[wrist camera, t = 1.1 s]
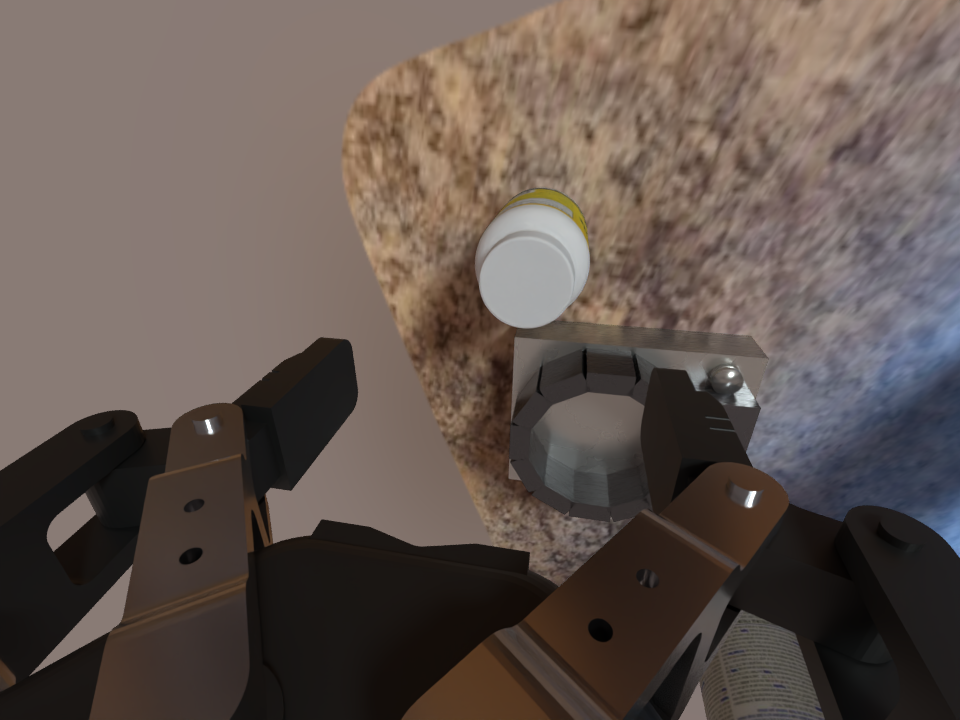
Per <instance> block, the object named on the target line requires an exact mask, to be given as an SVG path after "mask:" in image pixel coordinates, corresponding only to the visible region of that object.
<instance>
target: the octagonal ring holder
mask: <svg viewBox="0 0 960 720" xmlns="http://www.w3.org/2000/svg"><path fill="white" fill-rule="evenodd" d="M768 360H769V358H768V357H767V356H766V354H765V353H764V352H763V350H762V349H761V348H760V347H759V345H758V344H757V343H756V341H755V340H754V339H753V337H752V336H743V335H730V334H717V333H704V332H691V331H678V330H665V329H652V328H640V327H627V326H614V325H601V324H588V323H575V322H562V321H552V322H550V323H548V324H546V325H544V326H541V327H536V328H517V331H516V334H515V341H514V364H513V387H512V410H511V425H510V448H509V479H514V480H521V481H522V482H523V484H524V486H525V487H526V489H527V490H528V492H531V491H532V496H534V497H536V498H537V499H539V500H541V501H542V502H544V503H546V504H548V505H549V506H551V507H553V508H554V509H556V510H558V511H559V512H561V513H563V514H564V515H565V514H566V513H567V512H568V511H569V516H571V517H578V518H585V519H592V520H599V521H606V522H610V517H612V519H613V521H614V522H616V521H620V520H624V519H628V518H632V517H635V516H636V515H637V514H638V513H639V512H641V511H642V510H644V509H650V510H652V511H653V509H652V504H651V498H650V493H649V487H648V481H647V476H646V470H645V465H644V459H643V454H642V448H641V440H640V433H641V422H642V416H643V411H644V406H645V401H646V396H647V391H648V386H649V381H650V376H651V372H652V370H653V368H654V367H655V368H667V369H678V370H686V371H687V373H688V376H689V378H690V380H691V383H692V385H693V388H694V390H695V391H702V392H708V393H709V394H710V395H712V396H713V397H714V398H715V399H716V400H718V401H719V402H720V403H721V404H722V405H723V407H724V409H725V411H726V413H727V415H728V417H729V421H731V423H732V425H733V427H734V429H735V430H734V432H736V433H737V435H738V438H739V440H740V442H741V444H742V446H743V448H744V450H745V452H746V450H747V447H748V444H749V442H750V439H751V436H752V433H753V430H754V427H755V424H756V421H757V418H758V415H759V412H760V409H761V408H760V406H759V404H758V403H757V401H756V400H755V399H756V396H757V393H758V390H759V387H760V384H761V381H762V378H763V375H764V372H765V369H766V366H767V363H768Z"/></svg>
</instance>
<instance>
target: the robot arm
mask: <svg viewBox="0 0 960 720" xmlns="http://www.w3.org/2000/svg"><path fill="white" fill-rule="evenodd" d="M357 397H358V387H357V380H356V373H355V365H354V358H353V351H352V346H351V344H350V342H349V341H348V340H345V339H334V338H323V337H321V338H319V339H318V340H316V341H315V342H314V343H313V344H312V345H310V346H309V347H308V348H307V349H305V351H303V352H302V353H299V354H297V355H295V356H293V357H291V358H288V359H286V360H284V361H283V362H281V363H280V364H279V365H278V366H277V367H275V368H274V369H273V370H272V372H269V373H268V374H267V375H266V376H264V377H263V378H262V381H261V380H260V381H259V382H257V383H256V384H255V385H254V386H252V387H251V388H250V389H249V390H247V391H246V392H245V393H244V394H243V395H241V396H240V397H239V398H238V399H237V400H235V401H234V402H233V403H232V404H231V403H215V404H209V405H205V406H201V407H198V408H196V409H193V410H191V411H189V412H187V413H185V414H183V415H182V416H181V417H179V418H178V419H177V420H176V421H175V422H174V423H173V425H172V428H162V429H149V430H142V427H141V426H140V423H139V420H138V417H137V415H136V414H135V413H133V412H131V411H126V410H115V411H107V412H103V413H98V414H95V415H92V416H89V417H86V418H84V419H81V420H79V421H77V422H75V423H74V424H72V425H70V426H69V427H67V428H65V429H64V430H63V431H61V432H59V433H58V434H56V435H55V436H53V437H52V438H50V439H48V440H47V441H45V442H44V443H42V444H41V445H39V446H38V447H37V448H35V449H33V450H32V451H30V452H28V453H27V454H25V455H24V456H22V457H21V458H19V459H18V460H16V461H15V462H13V463H12V464H10V465H8V466H7V467H5V468H4V469H2V470H1V471H0V720H678V719H679V718H680V716H681V714H682V713H683V711H684V709H685V707H686V705H687V703H688V702H689V699H690V698H691V695H692V694H693V692H694V690H695V687H696V686H697V684H698V682H699V681H700V679H701V677H702V676H703V674H704V672H705V671H706V669H707V668H708V666H709V665H710V663H711V662H712V660H713V659H714V657H715V656H716V654H717V653H718V651H719V649H720V648H721V646H722V645H723V643H724V642H725V640H726V639H727V637H728V636H729V634H730V633H731V631H732V630H733V628H734V627H735V625H736V624H737V622H738V620H739V619H740V617H741V616H742V614H743V613H744V611H745V612H747V613H750V614H752V615H754V616H757V617H759V618H761V619H764V620H766V621H768V622H771V623H773V624H775V625H777V626H780V627H782V628H784V629H787V630H789V631H791V632H794V633H795V635H796V637H797V640H798V643H799V646H800V649H801V652H802V655H803V658H804V661H805V663H806V666H807V669H808V672H809V675H810V678H811V681H812V684H813V687H814V689H815V692H816V695H817V698H818V701H819V704H820V707H821V710H822V712H823V715H824V718H825V720H960V558H959V557H958V555H957V554H956V553H955V551H954V550H953V549H952V548H951V546H950V545H949V544H948V543H947V542H946V541H945V540H944V539H943V538H942V537H941V536H940V535H939V534H937V533H936V532H935V531H933V530H932V529H931V528H929V527H928V526H926V525H925V524H923V523H921V522H919V521H918V520H916V519H914V518H912V517H909V516H907V515H905V514H903V513H900V512H897V511H894V510H891V509H888V508H883V507H878V506H857V507H855V508H852V509H851V510H850V511H849V512H848V513H847V515H846V517H845V519H844V521H843V522H841V521H838V520H835V519H832V518H828V517H825V516H822V515H819V514H816V513H813V512H810V511H807V510H804V509H802V508H799V507H797V506H795V505H792V504H790V503H789V498H788V495H787V493H786V491H785V490H784V488H783V487H782V486H781V485H780V484H779V483H778V482H777V481H776V480H775V479H773V478H772V477H771V476H769V475H768V474H766V473H764V472H762V471H760V470H758V469H756V468H753V466H752V464H751V462H750V460H749V458H748V456H747V454H746V452H745V450H744V448H743V446H742V444H741V442H740V440H739V438H738V435H737V433H736V432H734V430H735V429H734V427H733V425H732V423H731V421H729V417H728V415H727V413H726V411H725V409H724V407H723V405H722V404H721V403H720V402H719V401H718V400H716V399H715V398H714V397H713V396H712V395H710V394H709V393H708V392H702V391H695V390H694V388H693V385H692V383H691V380H690V378H689V376H688V373H687V371H686V370H678V369H667V368H655V367H654V368H653V370H652V372H651V376H650V381H649V386H648V391H647V396H646V401H645V406H644V411H643V416H642V422H641V433H640V440H641V448H642V454H643V459H644V465H645V470H646V476H647V481H648V487H649V493H650V498H651V504H652V509H653V511H652V510H650V509H644V510H642V511H641V512H639V513H638V514H637V515H636V516H635V517H634V518H633V519H632V520H631V521H630V522H628V523H627V524H626V525H625V526H624V527H623V528H622V529H621V530H620V531H619V532H618V533H617V534H615V535H614V536H613V537H612V538H611V539H610V540H609V541H608V542H607V543H606V544H605V545H604V546H602V547H601V548H600V549H599V550H598V551H597V552H596V553H595V554H594V555H593V556H592V557H590V558H589V559H588V560H587V561H586V562H585V563H584V564H583V565H582V566H581V567H580V568H579V569H577V570H576V571H575V572H574V573H573V574H572V575H571V576H570V577H569V578H568V579H567V580H566V581H564V582H563V583H562V584H561V585H560V586H557V585H556V584H554V583H553V582H551V581H550V580H548V579H546V578H544V577H543V576H541V575H539V574H537V573H534V572H532V571H530V570H529V557H530V552H525V551H519V550H513V549H506V548H500V547H494V546H487V545H480V544H462V545H444V546H427V547H419V546H414V545H411V544H409V543H406V542H404V541H402V540H399V539H397V538H395V537H392V536H390V535H388V534H385V533H383V532H381V531H378V530H376V529H373V528H371V527H367V526H360V525H354V524H348V523H341V522H335V521H329V520H321V521H320V523H319V524H318V526H317V527H316V529H315V531H314V532H313V534H312V535H311V536H303V537H297V538H291V539H288V540H284V541H280V542H277V543H274V544H273V538H272V530H271V522H270V514H269V507H268V502H267V498H266V492H267V491H268V490H269V489H270V488H276V489H283V490H290V491H291V490H292V489H293V488H294V486H295V485H296V484H297V483H298V481H299V480H300V479H301V477H302V476H303V475H304V474H305V472H306V471H307V470H308V468H309V467H310V466H311V464H312V463H313V462H314V461H315V459H316V458H317V457H318V455H319V454H320V453H321V451H322V450H323V449H324V447H325V446H326V445H327V444H328V442H329V441H330V440H331V439H332V437H333V436H334V435H335V433H336V432H337V431H338V430H339V428H340V427H341V425H342V424H343V423H344V422H345V420H346V419H347V418H348V416H349V415H350V414H351V413H352V411H353V410H354V408H355V405H356V402H357ZM84 493H86V495H87V497H88V499H89V501H90V503H91V505H92V507H93V509H94V511H95V512H96V515H95V516H94V517H93V518H91V519H90V520H89V521H88V522H87V523H86V524H85V525H83V526H82V527H81V528H80V529H79V530H78V531H77V532H76V533H74V535H72V536H71V537H70V538H69V539H68V540H66V541H65V542H64V543H63V544H62V545H61V546H60V547H59V548H58V549H56V550H55V551H54V552H53V551H52V549H51V547H50V546H49V544H48V542H47V531H48V528H49V525H50V523H51V522H52V520H53V519H54V518H55V517H56V516H57V515H58V514H59V513H60V512H61V511H63V510H64V509H65V508H66V507H68V506H69V505H70V504H71V503H73V502H74V501H75V500H76V499H77V498H79V497H80V496H81V495H82V494H84ZM132 564H133V566H132V572H131V577H130V582H129V587H128V593H127V598H126V604H125V609H124V614H123V618H122V620H121V622H120V624H119V625H117V626H116V627H114V628H113V629H112V631H110V632H108V633H106V634H105V635H103V636H101V637H99V638H97V639H96V640H94V641H92V642H90V643H88V644H87V645H85V646H83V647H81V648H79V649H78V650H76V651H74V652H72V653H70V654H69V655H67V656H65V657H63V658H61V659H59V660H58V661H56V662H54V663H52V664H50V665H49V666H47V667H45V668H43V669H41V670H40V671H38V672H36V673H34V674H32V675H31V676H29V675H30V674H31V673H32V672H33V671H34V670H35V669H36V668H37V667H38V666H39V665H40V664H41V663H42V661H43V660H44V659H45V658H46V657H47V656H48V655H49V654H50V653H51V652H52V650H54V648H55V647H56V646H57V645H58V644H59V643H60V642H61V641H62V640H63V639H64V638H65V637H66V635H67V634H68V633H69V632H70V631H71V630H72V629H73V628H74V627H75V626H76V625H77V623H79V621H80V620H81V619H82V618H83V617H84V616H85V615H86V614H87V613H88V612H89V611H90V609H92V607H93V606H94V605H95V604H96V603H97V602H98V601H99V600H100V599H101V598H102V597H103V595H104V594H105V593H106V592H107V591H108V590H109V589H110V588H111V587H112V586H113V585H114V584H115V583H116V582H117V580H118V579H119V578H120V577H121V576H122V575H123V574H124V573H125V572H126V570H128V569H129V567H130V566H131V565H132Z"/></svg>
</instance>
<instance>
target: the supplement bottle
mask: <svg viewBox="0 0 960 720" xmlns="http://www.w3.org/2000/svg"><path fill="white" fill-rule="evenodd" d="M589 266H590V254H589V245H588V235H587V226H586V222H585V219H584V216H583V214H582V212H581V210H580V208H579V207H578V205H577V204H576V203H575V202H574V201H573V200H572V199H571V198H570V197H568V196H567V195H565V194H564V193H562V192H560V191H557V190H554V189H550V188H533V189H529V190H526V191H523V192H521V193H519V194H518V195H516V196H515V197H513V198H512V199H511V200H510V201H509V202H508V203H507V204H506V205H505V206H504V207H503V208H502V209H501V211H500V212H499V213H498V215H497V216H496V217H495V218H494V220H493V221H492V222H491V223H490V224H489V226H488V227H487V228H486V230H485V231H484V233H483V235H482V237H481V239H480V241H479V244H478V247H477V250H476V255H475V271H476V277H477V280H478V283H479V289H480V294H481V297H482V299H483V302H484V304H485V305H486V307H487V308H488V310H489V311H490V312H491V313H492V314H493V315H494V316H495V317H496V318H497V319H499V320H500V321H502V322H504V323H506V324H508V325H510V326H513V327H518V328H536V327H541V326H544V325H546V324H548V323H550V322H552V321H554V320H555V319H556V318H558V317H559V316H560V315H561V314H562V313H563V312H564V310H565V309H566V308H567V307H568V306H569V305H571V304H572V303H573V302H574V301H575V299H576V298H577V297H578V296H579V294H580V293H581V291H582V289H583V288H584V285H585V283H586V280H587V277H588V273H589Z"/></svg>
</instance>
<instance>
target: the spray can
mask: <svg viewBox="0 0 960 720" xmlns="http://www.w3.org/2000/svg"><path fill="white" fill-rule="evenodd" d="M699 682H700V687H701V692H702V697H703V702H704V706H705V712H706V717H707V720H825V718H824V715H823V712H822V710H821V707H820V704H819V701H818V698H817V695H816V692H815V689H814V687H813V684H812V681H811V678H810V675H809V672H808V669H807V666H806V663H805V661H804V658H803V655H802V652H801V649H800V646H799V643H798V640H797V637H796V635H795V633H794V632H791V631H789V630H787V629H784V628H782V627H780V626H777V625H775V624H773V623H771V622H768V621H766V620H764V619H761V618H759V617H757V616H754V615H752V614H750V613H747V612H745V611H744V613H743V614H742V616H741V617H740V619H739V620H738V622H737V624H736V625H735V627H734V628H733V630H732V631H731V633H730V634H729V636H728V637H727V639H726V640H725V642H724V643H723V645H722V646H721V648H720V649H719V651H718V653H717V654H716V656H715V657H714V659H713V660H712V662H711V663H710V665H709V666H708V668H707V669H706V671H705V672H704V674H703V676H702V677H701V679H700V681H699Z"/></svg>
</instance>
